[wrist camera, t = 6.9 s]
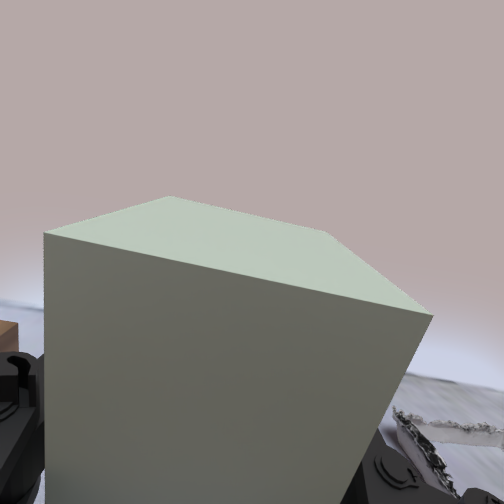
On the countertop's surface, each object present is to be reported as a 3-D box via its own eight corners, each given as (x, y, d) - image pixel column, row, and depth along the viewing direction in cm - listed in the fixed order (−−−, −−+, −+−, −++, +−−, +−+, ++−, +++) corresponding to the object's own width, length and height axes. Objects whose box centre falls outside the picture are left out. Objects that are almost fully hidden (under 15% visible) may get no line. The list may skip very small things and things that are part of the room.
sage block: (249, 470, 11) (326, 231, 8) (248, 686, 7) (434, 315, 3) (134, 452, 11) (169, 195, 8) (45, 669, 6) (43, 232, 3)
